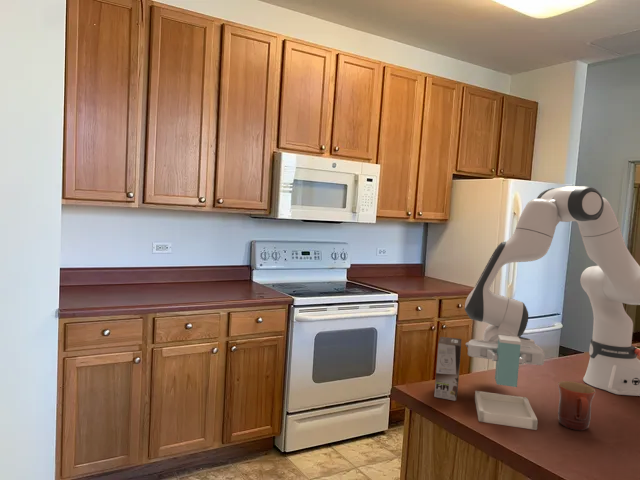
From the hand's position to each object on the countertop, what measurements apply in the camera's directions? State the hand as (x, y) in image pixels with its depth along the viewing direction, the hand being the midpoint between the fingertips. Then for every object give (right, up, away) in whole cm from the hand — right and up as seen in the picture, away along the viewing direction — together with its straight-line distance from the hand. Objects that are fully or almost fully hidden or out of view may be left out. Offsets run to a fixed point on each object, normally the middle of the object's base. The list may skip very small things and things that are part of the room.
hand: (508, 359), depth 130 cm
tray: (-1, -15, +2) cm, 15 cm away
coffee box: (-13, -14, +14) cm, 24 cm away
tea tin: (0, -6, +1) cm, 7 cm away
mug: (+15, -16, -5) cm, 23 cm away
